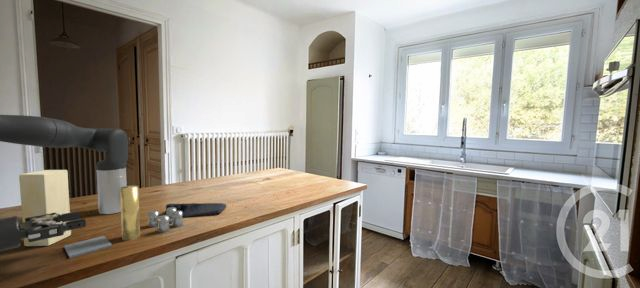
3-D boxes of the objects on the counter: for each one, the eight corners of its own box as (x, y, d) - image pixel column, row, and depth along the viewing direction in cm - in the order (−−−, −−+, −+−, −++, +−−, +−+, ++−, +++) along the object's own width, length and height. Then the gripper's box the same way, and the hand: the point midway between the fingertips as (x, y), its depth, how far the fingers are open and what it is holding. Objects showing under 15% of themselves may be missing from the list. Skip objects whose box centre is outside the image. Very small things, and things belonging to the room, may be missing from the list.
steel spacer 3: (164, 222, 94) (164, 209, 94) (172, 219, 97) (171, 206, 97) (170, 224, 93) (170, 211, 93) (178, 221, 96) (178, 208, 96)
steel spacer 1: (147, 226, 91) (146, 212, 91) (157, 223, 94) (156, 209, 94) (150, 228, 89) (149, 214, 89) (160, 225, 92) (160, 211, 92)
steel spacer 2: (156, 231, 87) (156, 216, 87) (167, 228, 90) (166, 214, 89) (160, 234, 85) (160, 219, 85) (171, 231, 88) (170, 216, 87)
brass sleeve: (120, 237, 82) (118, 187, 81) (137, 233, 86) (135, 184, 84) (124, 242, 79) (122, 190, 78) (142, 237, 83) (140, 187, 81)
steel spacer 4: (171, 225, 92) (170, 212, 92) (180, 223, 94) (180, 209, 94) (174, 228, 90) (174, 214, 90) (184, 225, 92) (184, 211, 92)
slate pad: (64, 247, 75) (64, 245, 75) (104, 237, 82) (104, 235, 82) (69, 258, 69) (69, 256, 69) (112, 246, 76) (111, 244, 76)
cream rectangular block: (47, 234, 83) (42, 169, 81) (72, 234, 84) (68, 169, 82) (20, 246, 75) (15, 174, 73) (48, 246, 76) (43, 174, 74)
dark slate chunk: (221, 218, 101) (221, 206, 101) (159, 220, 98) (159, 208, 97) (228, 205, 116) (228, 195, 116) (175, 207, 113) (175, 196, 113)
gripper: (-14, 229, 56) (87, 211, 68) (-12, 214, 65) (76, 200, 77) (-11, 263, 56) (88, 238, 69) (-10, 243, 65) (78, 225, 78)
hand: (82, 218), depth 73 cm, fingers open, 8 cm apart
